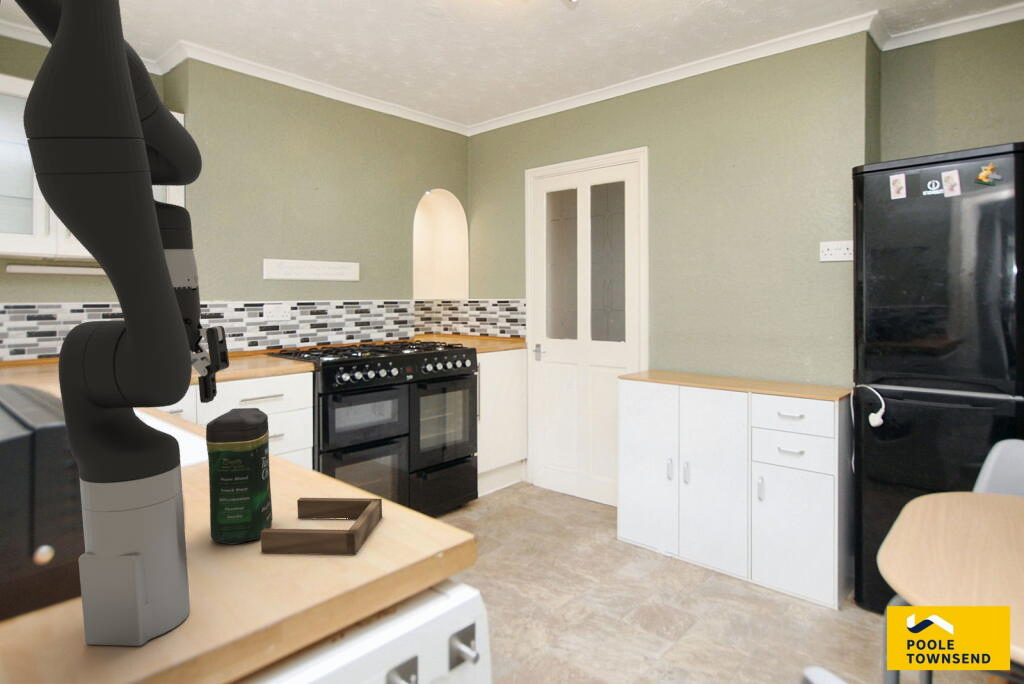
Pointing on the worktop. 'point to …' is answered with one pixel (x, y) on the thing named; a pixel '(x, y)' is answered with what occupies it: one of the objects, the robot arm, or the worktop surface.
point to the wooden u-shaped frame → (326, 539)
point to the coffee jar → (239, 475)
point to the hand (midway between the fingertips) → (178, 401)
